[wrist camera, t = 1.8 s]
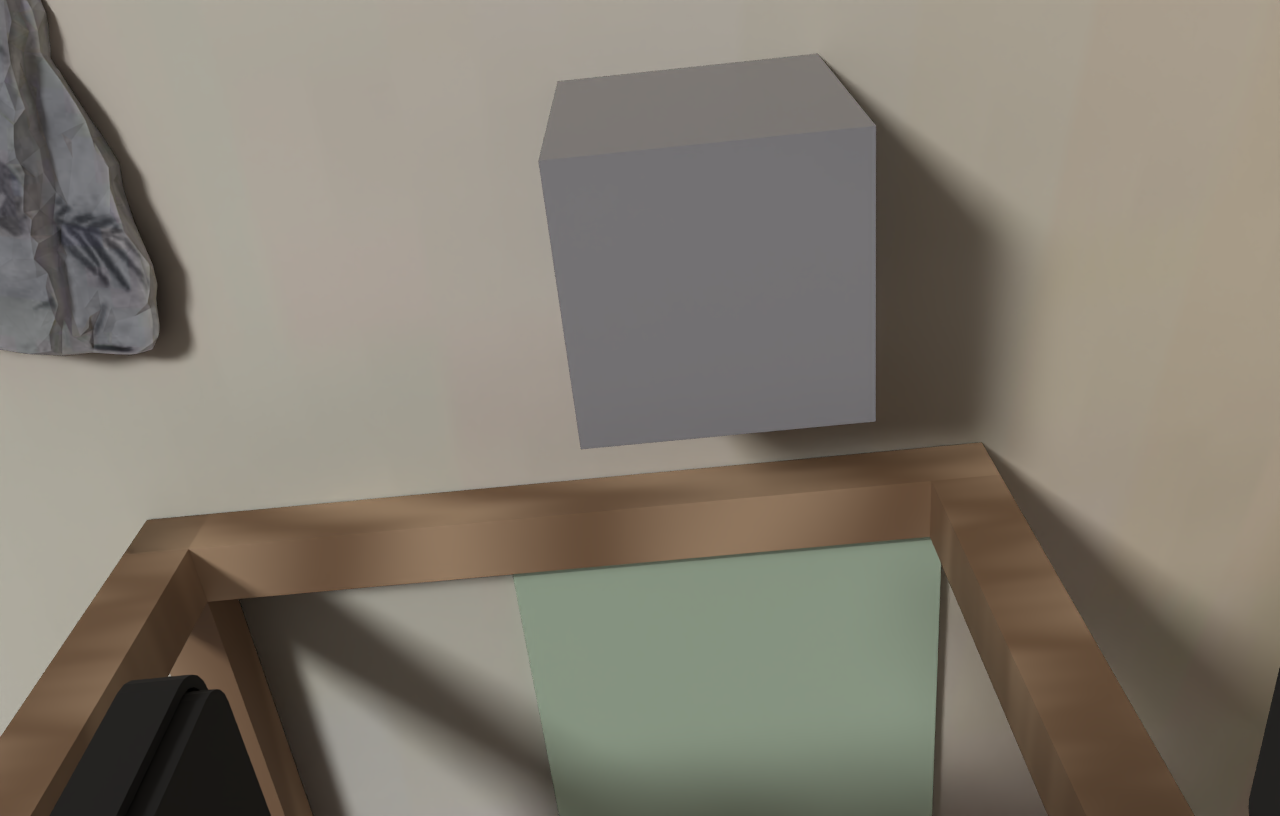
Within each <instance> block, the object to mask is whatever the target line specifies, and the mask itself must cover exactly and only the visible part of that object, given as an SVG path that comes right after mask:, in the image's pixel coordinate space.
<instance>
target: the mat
mask: <svg viewBox="0 0 1280 816" xmlns="http://www.w3.org/2000/svg"><path fill="white" fill-rule="evenodd" d="M513 579H514V584H515V589H516V594H517V599H518V605H519V610H520V615H521V620H522V625H523V631H524V636H525V641H526V646H527V651H528V656H529V662H530V667H531V672H532V677H533V682H534V688H535V693H536V698H537V703H538V708H539V714H540V719H541V724H542V729H543V734H544V739H545V745H546V750H547V755H548V760H549V765H550V771H551V776H552V781H553V786H554V791H555V796H556V802H557V807H558V812H559V816H932V799H933V771H934V744H935V716H936V689H937V662H938V634H939V607H940V579H941V562H940V560H939V557H938V555H937V553H936V550H935V548H934V546H933V543H932V541H931V539H930V537H922V538H911V539H899V540H888V541H877V542H866V543H855V544H844V545H833V546H822V547H810V548H799V549H788V550H777V551H766V552H755V553H744V554H733V555H722V556H710V557H699V558H688V559H677V560H666V561H655V562H644V563H633V564H621V565H610V566H599V567H588V568H577V569H566V570H555V571H544V572H532V573H521V574H514V575H513Z"/></svg>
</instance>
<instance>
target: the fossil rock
mask: <svg viewBox="0 0 1280 816" xmlns="http://www.w3.org/2000/svg"><path fill="white" fill-rule="evenodd" d="M156 294H157V281H156V277H155V273H154V268H153V264H152V262H151V260H150V258H149V255H148V253H147V251H146V248H145V246H144V244H143V241H142V239H141V237H140V234H139V232H138V230H137V228H136V225H135V223H134V221H133V217H132V214H131V211H130V208H129V205H128V202H127V198H126V195H125V192H124V189H123V184H122V177H121V171H120V165H119V162H118V160H117V159H116V157H115V155H114V154H113V152H112V151H111V149H110V147H109V146H108V144H107V142H106V141H105V139H104V137H103V136H102V135H101V133H100V132H99V130H98V129H97V128H96V126H95V125H94V124H93V122H92V121H91V119H90V118H89V116H88V115H87V113H86V112H85V110H84V109H83V107H82V106H81V104H80V103H79V101H78V100H77V98H76V97H75V95H74V93H73V92H72V90H71V89H70V87H69V85H68V84H67V82H66V81H65V79H64V78H63V76H62V74H61V72H60V70H58V69H57V67H56V66H55V64H54V63H53V61H52V60H51V45H50V40H49V25H48V20H47V15H46V11H45V9H44V6H43V4H42V2H41V0H0V350H7V351H13V352H19V353H25V354H44V355H62V356H67V355H76V354H84V353H106V354H119V355H133V354H138V353H142V352H145V351H149V350H152V349H153V348H154V346H155V343H156V341H157V338H158V336H159V329H160V324H159V316H158V309H157V302H156Z"/></svg>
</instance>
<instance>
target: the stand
mask: <svg viewBox="0 0 1280 816" xmlns="http://www.w3.org/2000/svg"><path fill="white" fill-rule="evenodd" d="M922 537H930V539H931V541H932V543H933V546H934V548H935V550H936V553H937V555H938V557H939V560H940V562H941V564H942V567H943V569H944V572H945V574H946V576H947V579H948V581H949V583H950V586H951V588H952V590H953V593H954V595H955V597H956V600H957V602H958V605H959V607H960V609H961V612H962V614H963V616H964V619H965V621H966V623H967V626H968V628H969V630H970V633H971V635H972V638H973V640H974V642H975V645H976V647H977V649H978V652H979V654H980V656H981V659H982V661H983V663H984V666H985V668H986V670H987V673H988V675H989V678H990V680H991V682H992V685H993V687H994V689H995V692H996V694H997V696H998V699H999V701H1000V703H1001V706H1002V708H1003V711H1004V713H1005V715H1006V718H1007V720H1008V722H1009V725H1010V727H1011V729H1012V732H1013V734H1014V736H1015V739H1016V741H1017V744H1018V746H1019V748H1020V751H1021V753H1022V755H1023V758H1024V760H1025V762H1026V765H1027V767H1028V769H1029V772H1030V774H1031V777H1032V779H1033V781H1034V784H1035V786H1036V788H1037V791H1038V793H1039V795H1040V798H1041V800H1042V802H1043V805H1044V807H1045V810H1046V812H1047V814H1048V816H1195V815H1194V814H1193V812H1192V810H1191V808H1190V807H1189V805H1188V803H1187V801H1186V800H1185V798H1184V796H1183V794H1182V793H1181V791H1180V789H1179V787H1178V786H1177V784H1176V782H1175V780H1174V779H1173V777H1172V775H1171V773H1170V772H1169V770H1168V768H1167V766H1166V765H1165V763H1164V761H1163V759H1162V758H1161V756H1160V754H1159V752H1158V751H1157V749H1156V747H1155V745H1154V744H1153V742H1152V740H1151V738H1150V737H1149V735H1148V733H1147V731H1146V730H1145V728H1144V726H1143V724H1142V723H1141V721H1140V719H1139V717H1138V716H1137V714H1136V712H1135V710H1134V709H1133V707H1132V705H1131V703H1130V702H1129V700H1128V698H1127V696H1126V694H1125V693H1124V691H1123V689H1122V687H1121V686H1120V684H1119V682H1118V680H1117V679H1116V677H1115V675H1114V673H1113V672H1112V670H1111V668H1110V666H1109V665H1108V663H1107V661H1106V659H1105V658H1104V656H1103V654H1102V652H1101V651H1100V649H1099V647H1098V645H1097V644H1096V642H1095V640H1094V638H1093V637H1092V635H1091V633H1090V631H1089V630H1088V628H1087V626H1086V624H1085V623H1084V621H1083V619H1082V617H1081V616H1080V614H1079V612H1078V610H1077V609H1076V607H1075V605H1074V603H1073V602H1072V600H1071V598H1070V596H1069V595H1068V593H1067V591H1066V589H1065V588H1064V586H1063V584H1062V582H1061V581H1060V579H1059V577H1058V575H1057V574H1056V572H1055V570H1054V568H1053V567H1052V565H1051V563H1050V561H1049V560H1048V558H1047V556H1046V554H1045V553H1044V551H1043V549H1042V547H1041V546H1040V544H1039V542H1038V540H1037V539H1036V537H1035V535H1034V533H1033V532H1032V530H1031V528H1030V526H1029V525H1028V523H1027V521H1026V519H1025V518H1024V516H1023V514H1022V512H1021V511H1020V509H1019V507H1018V505H1017V503H1016V502H1015V500H1014V498H1013V496H1012V495H1011V493H1010V491H1009V489H1008V488H1007V486H1006V484H1005V482H1004V481H1003V479H1002V477H1001V475H1000V474H999V472H998V470H997V468H996V467H995V465H994V463H993V461H992V460H991V458H990V456H989V454H988V453H987V451H986V449H985V447H984V446H983V444H982V442H981V443H971V444H960V445H949V446H938V447H928V448H917V449H906V450H895V451H884V452H874V453H863V454H852V455H841V456H831V457H820V458H809V459H798V460H787V461H777V462H766V463H755V464H744V465H734V466H723V467H712V468H701V469H690V470H680V471H669V472H658V473H647V474H637V475H626V476H615V477H604V478H593V479H583V480H572V481H561V482H550V483H540V484H529V485H518V486H507V487H496V488H486V489H475V490H464V491H453V492H443V493H432V494H421V495H410V496H399V497H389V498H378V499H367V500H356V501H346V502H335V503H324V504H313V505H303V506H292V507H281V508H270V509H259V510H249V511H238V512H227V513H216V514H206V515H195V516H184V517H173V518H162V519H152V520H147V521H146V522H145V524H144V525H143V527H142V528H141V530H140V531H139V533H138V534H137V536H136V537H135V538H134V540H133V541H132V543H131V544H130V546H129V547H128V549H127V550H126V552H125V553H124V555H123V556H122V558H121V559H120V561H119V562H118V564H117V565H116V567H115V568H114V570H113V571H112V573H111V574H110V576H109V577H108V578H107V580H106V581H105V583H104V584H103V586H102V587H101V589H100V590H99V592H98V593H97V595H96V596H95V598H94V599H93V601H92V602H91V604H90V605H89V607H88V608H87V610H86V611H85V613H84V614H83V616H82V617H81V618H80V620H79V621H78V623H77V624H76V626H75V627H74V629H73V630H72V632H71V633H70V635H69V636H68V638H67V639H66V641H65V642H64V644H63V645H62V647H61V648H60V650H59V651H58V653H57V654H56V656H55V657H54V658H53V660H52V661H51V663H50V664H49V666H48V667H47V669H46V670H45V672H44V673H43V675H42V676H41V678H40V679H39V681H38V682H37V684H36V685H35V687H34V688H33V690H32V691H31V693H30V694H29V696H28V697H27V698H26V700H25V701H24V703H23V704H22V706H21V707H20V709H19V710H18V712H17V713H16V715H15V716H14V718H13V719H12V721H11V722H10V724H9V725H8V727H7V728H6V730H5V731H4V733H3V734H2V736H1V737H0V816H49V815H50V814H51V812H52V810H53V808H54V806H55V805H56V803H57V801H58V799H59V797H60V796H61V794H62V792H63V790H64V788H65V786H66V785H67V783H68V781H69V779H70V777H71V776H72V774H73V772H74V770H75V768H76V767H77V765H78V763H79V761H80V759H81V758H82V756H83V754H84V752H85V750H86V749H87V747H88V745H89V743H90V741H91V739H92V738H93V736H94V734H95V732H96V730H97V729H98V727H99V725H100V723H101V721H102V720H103V718H104V716H105V714H106V712H107V711H108V709H109V707H110V705H111V703H112V702H113V700H114V698H115V696H116V694H117V693H118V691H119V690H120V689H121V687H122V686H123V685H124V684H126V683H127V682H129V681H131V680H141V679H151V678H161V677H168V675H169V673H170V674H171V676H181V675H198V676H199V677H200V678H201V679H202V680H203V681H204V682H205V684H206V686H207V688H208V690H211V689H220V690H221V691H222V692H224V693H225V695H226V697H227V699H228V701H229V704H230V707H231V709H232V712H233V715H234V717H235V720H236V723H237V725H238V728H239V731H240V733H241V736H242V739H243V742H244V744H245V747H246V750H247V752H248V755H249V758H250V760H251V763H252V766H253V768H254V771H255V774H256V776H257V779H258V782H259V784H260V787H261V790H262V792H263V795H264V798H265V801H266V803H267V806H268V809H269V811H270V814H271V816H313V815H312V812H311V809H310V806H309V803H308V800H307V797H306V794H305V791H304V788H303V785H302V783H301V780H300V777H299V774H298V771H297V768H296V765H295V762H294V759H293V756H292V754H291V751H290V748H289V745H288V742H287V739H286V736H285V733H284V730H283V727H282V725H281V722H280V719H279V716H278V713H277V710H276V707H275V704H274V701H273V698H272V696H271V693H270V690H269V687H268V684H267V681H266V678H265V675H264V672H263V669H262V666H261V664H260V661H259V658H258V655H257V652H256V649H255V646H254V643H253V640H252V637H251V635H250V632H249V629H248V626H247V623H246V620H245V617H244V614H243V611H242V608H241V606H240V603H239V600H238V599H243V598H254V597H265V596H277V595H288V594H299V593H310V592H321V591H332V590H343V589H354V588H366V587H377V586H388V585H399V584H410V583H421V582H432V581H443V580H455V579H466V578H477V577H488V576H499V575H510V574H521V573H532V572H544V571H555V570H566V569H577V568H588V567H599V566H610V565H621V564H633V563H644V562H655V561H666V560H677V559H688V558H699V557H710V556H722V555H733V554H744V553H755V552H766V551H777V550H788V549H799V548H810V547H822V546H833V545H844V544H855V543H866V542H877V541H888V540H899V539H911V538H922Z"/></svg>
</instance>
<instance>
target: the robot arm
mask: <svg viewBox="0 0 1280 816" xmlns="http://www.w3.org/2000/svg"><path fill="white" fill-rule="evenodd" d="M49 816H271V814H270V811H269V809H268V806H267V803H266V801H265V798H264V795H263V792H262V790H261V787H260V784H259V782H258V779H257V776H256V774H255V771H254V768H253V766H252V763H251V760H250V758H249V755H248V752H247V750H246V747H245V744H244V742H243V739H242V736H241V733H240V731H239V728H238V725H237V723H236V720H235V717H234V715H233V712H232V709H231V707H230V704H229V701H228V699H227V697H226V695H225V693H224V692H222V691H221V690H220V689H211V690H208V688H207V686H206V684H205V682H204V681H203V680H202V679H201V678H200V677H199V676H198V675H181V676H171V677H161V678H151V679H141V680H131V681H129V682H127V683H126V684H124V685H123V686H122V687H121V689H120V690H119V691H118V693H117V694H116V696H115V698H114V700H113V702H112V703H111V705H110V707H109V709H108V711H107V712H106V714H105V716H104V718H103V720H102V721H101V723H100V725H99V727H98V729H97V730H96V732H95V734H94V736H93V738H92V739H91V741H90V743H89V745H88V747H87V749H86V750H85V752H84V754H83V756H82V758H81V759H80V761H79V763H78V765H77V767H76V768H75V770H74V772H73V774H72V776H71V777H70V779H69V781H68V783H67V785H66V786H65V788H64V790H63V792H62V794H61V796H60V797H59V799H58V801H57V803H56V805H55V806H54V808H53V810H52V812H51V814H50V815H49ZM1249 816H1280V668H1279V673H1278V677H1277V681H1276V686H1275V690H1274V694H1273V699H1272V703H1271V707H1270V711H1269V716H1268V720H1267V724H1266V729H1265V733H1264V737H1263V742H1262V746H1261V750H1260V755H1259V759H1258V763H1257V767H1256V772H1255V776H1254V780H1253V785H1252V789H1251V793H1250V798H1249Z"/></svg>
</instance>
